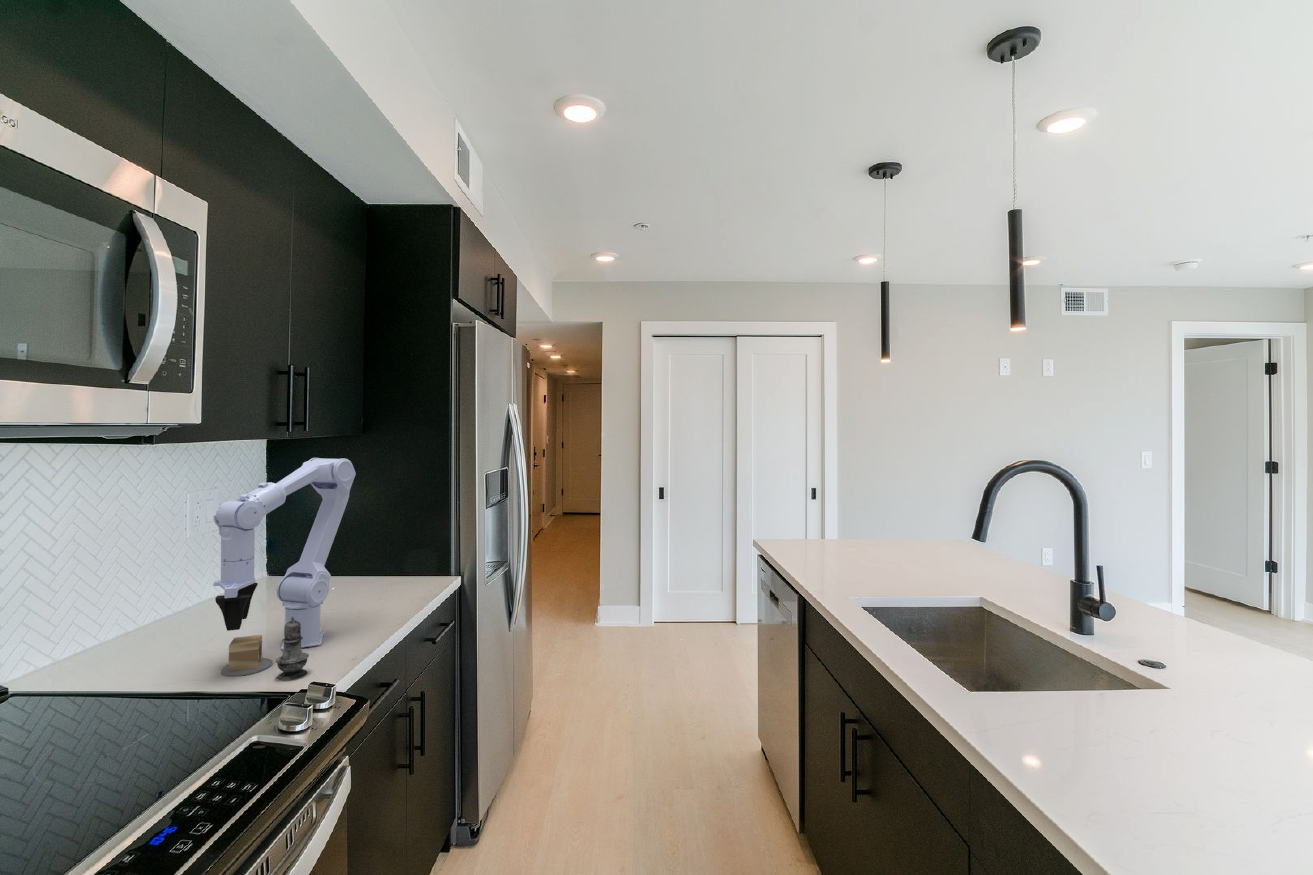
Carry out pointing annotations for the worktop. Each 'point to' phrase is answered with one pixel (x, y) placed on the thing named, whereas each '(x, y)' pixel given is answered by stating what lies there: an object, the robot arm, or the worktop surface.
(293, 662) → the dark grey stone ornament
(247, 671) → the pad
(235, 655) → the slotted wooden block
